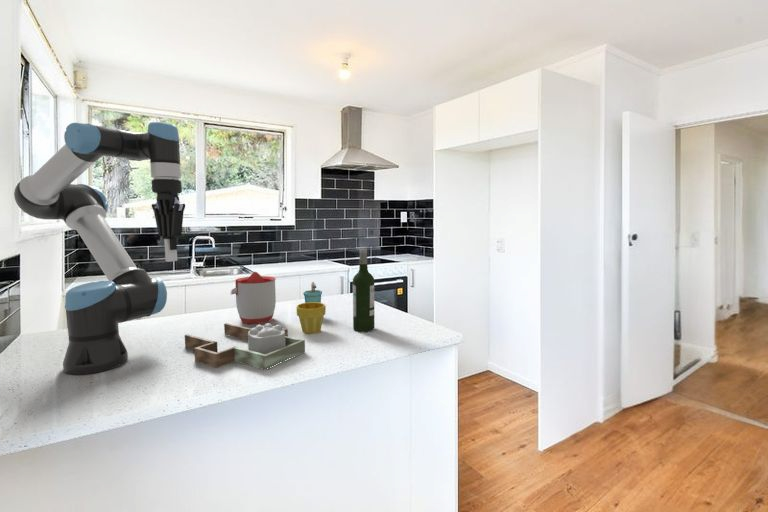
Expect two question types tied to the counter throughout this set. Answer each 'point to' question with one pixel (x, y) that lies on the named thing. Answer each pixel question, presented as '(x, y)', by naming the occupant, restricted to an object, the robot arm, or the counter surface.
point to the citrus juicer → (255, 298)
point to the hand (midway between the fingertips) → (171, 260)
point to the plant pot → (311, 316)
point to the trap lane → (241, 350)
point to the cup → (312, 294)
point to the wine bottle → (363, 297)
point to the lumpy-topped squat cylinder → (266, 338)
